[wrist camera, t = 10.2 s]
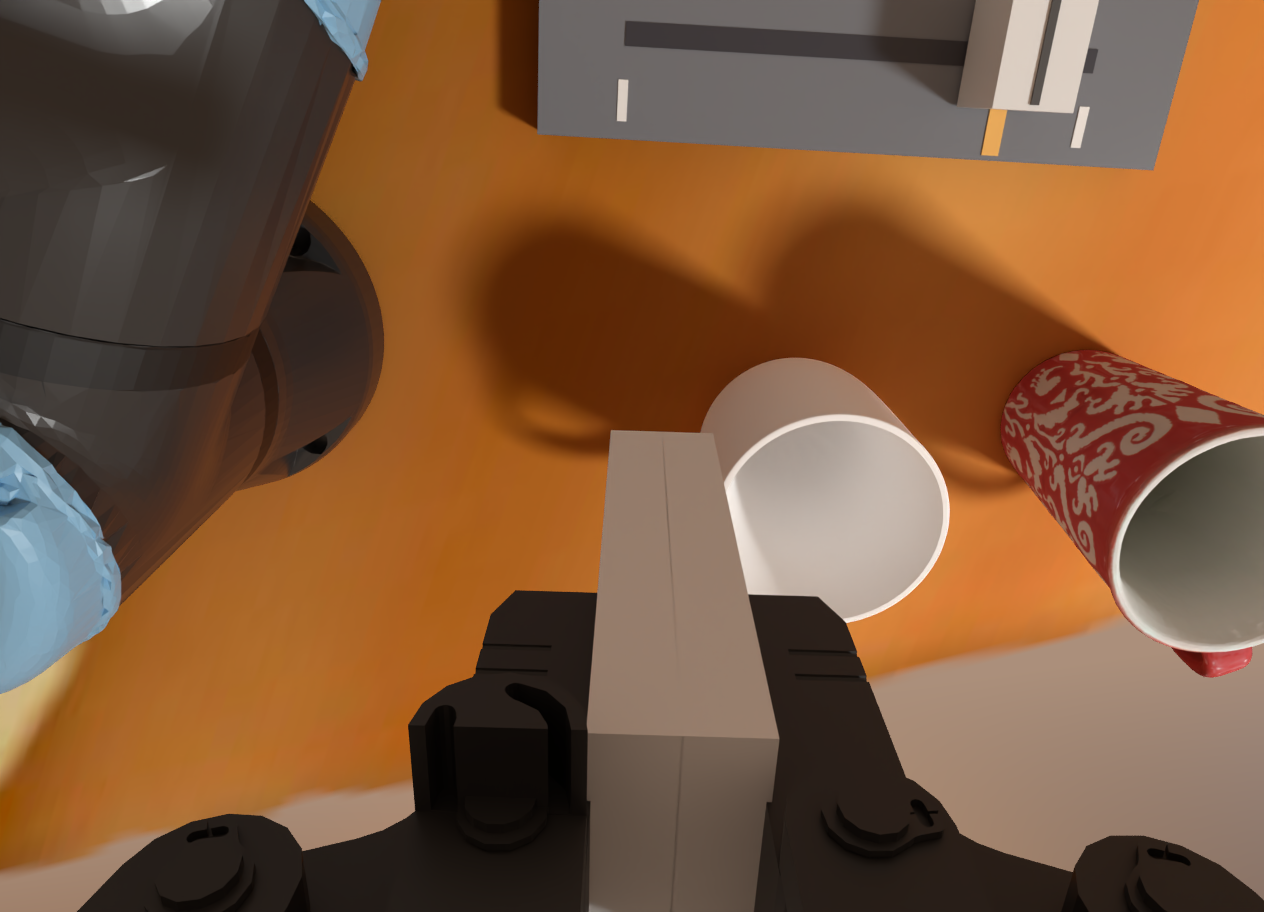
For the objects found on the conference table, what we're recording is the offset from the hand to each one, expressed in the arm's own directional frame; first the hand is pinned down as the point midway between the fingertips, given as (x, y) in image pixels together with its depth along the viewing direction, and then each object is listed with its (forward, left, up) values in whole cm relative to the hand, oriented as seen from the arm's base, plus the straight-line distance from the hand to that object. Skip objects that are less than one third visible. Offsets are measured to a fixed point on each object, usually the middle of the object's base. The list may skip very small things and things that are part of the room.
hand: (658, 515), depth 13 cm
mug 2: (+22, -9, -30) cm, 38 cm away
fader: (+14, +8, -27) cm, 31 cm away
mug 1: (+6, -9, -30) cm, 32 cm away
